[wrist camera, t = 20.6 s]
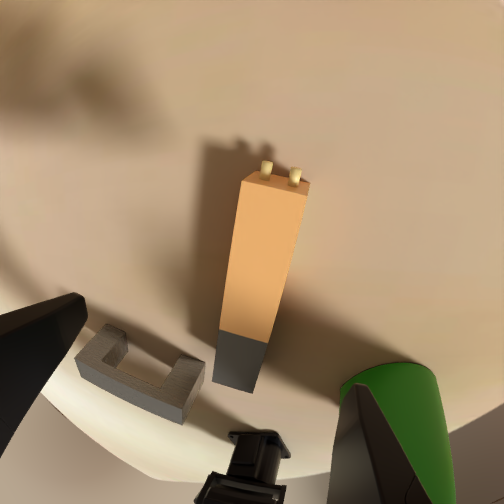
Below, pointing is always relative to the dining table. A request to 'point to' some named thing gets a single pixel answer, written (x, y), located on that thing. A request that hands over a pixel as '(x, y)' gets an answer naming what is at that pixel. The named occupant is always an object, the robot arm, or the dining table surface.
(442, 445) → the green tall cylinder
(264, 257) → the plug
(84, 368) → the housing
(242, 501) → the robot arm
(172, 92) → the dining table surface
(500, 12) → the dining table surface
